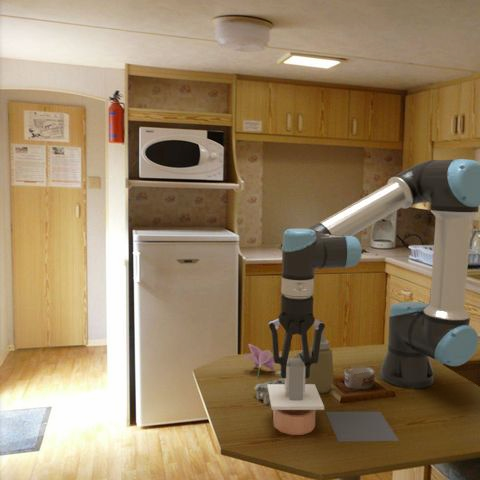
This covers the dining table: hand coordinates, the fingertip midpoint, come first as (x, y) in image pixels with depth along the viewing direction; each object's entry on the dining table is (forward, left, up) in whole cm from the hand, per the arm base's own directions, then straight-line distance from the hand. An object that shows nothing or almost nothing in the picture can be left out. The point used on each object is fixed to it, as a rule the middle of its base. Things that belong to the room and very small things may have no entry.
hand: (294, 390), depth 120 cm
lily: (+5, -32, -10) cm, 34 cm away
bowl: (0, 0, -9) cm, 9 cm away
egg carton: (+3, -16, -10) cm, 19 cm away
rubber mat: (-16, +1, -9) cm, 19 cm away
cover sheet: (0, 0, -2) cm, 2 cm away
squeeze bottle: (-10, -20, -9) cm, 24 cm away
